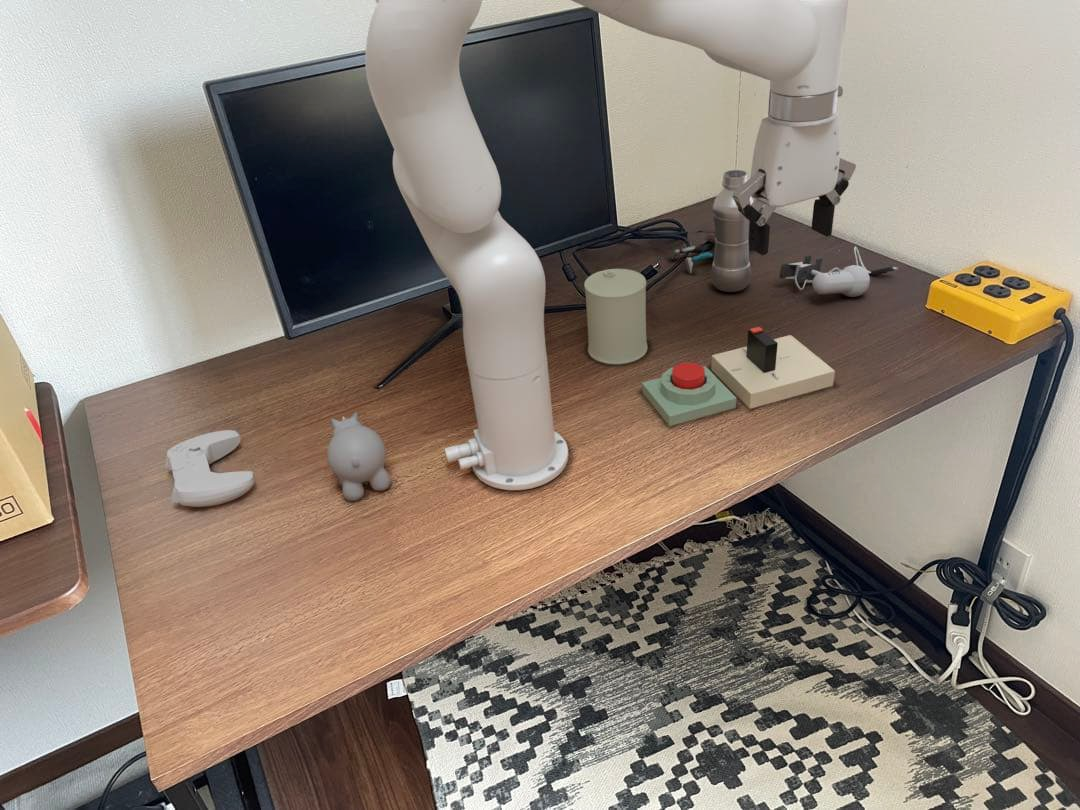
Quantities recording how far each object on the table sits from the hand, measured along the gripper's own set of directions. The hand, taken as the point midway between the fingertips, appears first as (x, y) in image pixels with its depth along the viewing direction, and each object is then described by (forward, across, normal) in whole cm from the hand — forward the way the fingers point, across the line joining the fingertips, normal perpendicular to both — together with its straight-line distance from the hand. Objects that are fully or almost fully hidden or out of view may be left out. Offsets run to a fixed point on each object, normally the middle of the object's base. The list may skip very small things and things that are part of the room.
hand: (790, 241), depth 103 cm
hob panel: (+21, +1, 0) cm, 21 cm away
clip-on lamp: (+21, -25, -17) cm, 37 cm away
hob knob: (+18, +2, -1) cm, 18 cm away
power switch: (+21, +14, -2) cm, 25 cm away
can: (+21, +16, -19) cm, 32 cm away
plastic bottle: (+21, -10, -27) cm, 35 cm away
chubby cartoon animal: (+21, +59, -8) cm, 63 cm away
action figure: (+21, -16, -38) cm, 46 cm away
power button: (+18, +14, -2) cm, 22 cm away
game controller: (+20, +77, -17) cm, 82 cm away
